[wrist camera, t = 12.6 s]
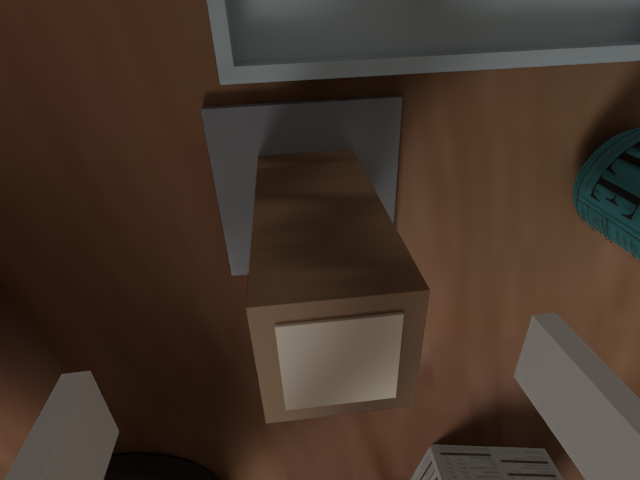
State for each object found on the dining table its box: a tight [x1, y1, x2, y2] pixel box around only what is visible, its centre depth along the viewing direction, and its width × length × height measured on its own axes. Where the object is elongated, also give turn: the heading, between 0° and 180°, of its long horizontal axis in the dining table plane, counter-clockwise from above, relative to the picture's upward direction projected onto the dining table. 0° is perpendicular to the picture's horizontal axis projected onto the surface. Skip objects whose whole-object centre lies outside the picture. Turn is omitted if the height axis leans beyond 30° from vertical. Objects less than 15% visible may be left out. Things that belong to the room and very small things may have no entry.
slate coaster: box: [201, 95, 403, 276], centre depth 22 cm, size 10×10×1 cm
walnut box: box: [246, 149, 430, 424], centre depth 17 cm, size 5×5×12 cm
